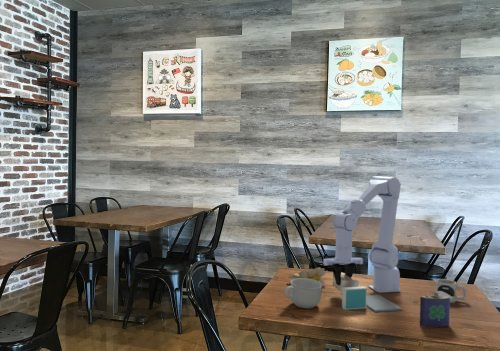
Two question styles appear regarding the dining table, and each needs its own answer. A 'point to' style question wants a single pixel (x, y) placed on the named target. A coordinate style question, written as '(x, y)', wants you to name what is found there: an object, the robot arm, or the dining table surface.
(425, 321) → the flask
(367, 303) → the mat
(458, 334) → the dining table surface
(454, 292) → the mug
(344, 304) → the tile
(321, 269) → the decorative flower
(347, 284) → the pusher
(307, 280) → the teacup
